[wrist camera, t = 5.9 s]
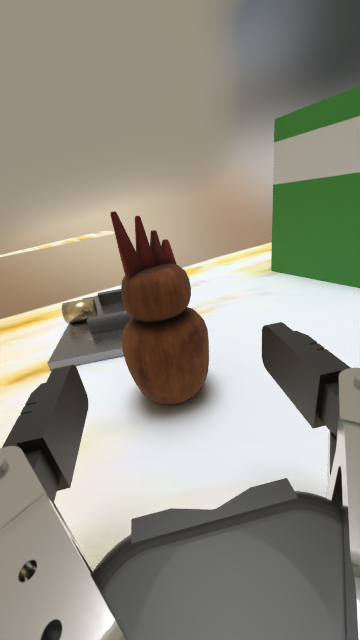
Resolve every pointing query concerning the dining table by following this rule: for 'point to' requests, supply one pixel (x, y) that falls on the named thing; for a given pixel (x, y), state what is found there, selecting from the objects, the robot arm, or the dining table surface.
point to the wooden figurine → (160, 320)
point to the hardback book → (318, 191)
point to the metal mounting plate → (91, 330)
